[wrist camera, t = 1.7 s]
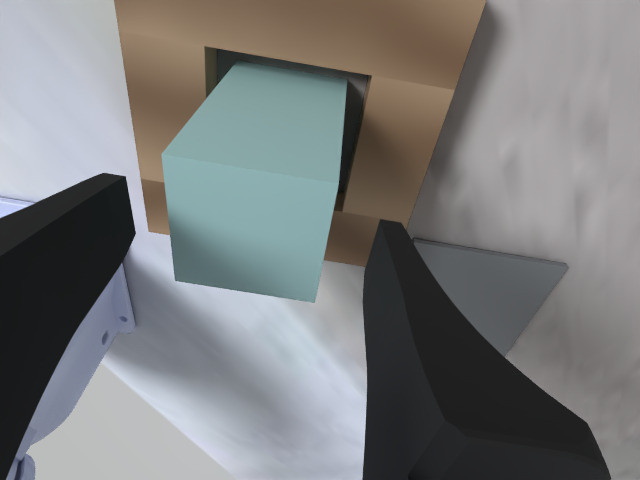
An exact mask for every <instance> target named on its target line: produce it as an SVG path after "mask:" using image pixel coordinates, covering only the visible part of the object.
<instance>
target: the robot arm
mask: <svg viewBox="0 0 640 480" xmlns="http://www.w3.org/2000/svg"><path fill="white" fill-rule="evenodd" d="M135 234H136V232H135V226H134V221H133V215H132V210H131V204H130V198H129V193H128V187H127V181H126V176H120V175H114V174H108V173H102V174H99V175H97V176H94V177H92V178H89V179H87V180H85V181H83V182H80V183H78V184H76V185H74V186H72V187H69V188H67V189H65V190H63V191H61V192H59V193H56V194H54V195H52V196H50V197H48V198H46V199H43V200H41V201H39V202H37V203H32V202H26V201H20V200H13V199H7V198H1V197H0V480H34V479H35V462H34V460H33V459H32V457H31V456H29V455H27V454H26V452H27V450H28V449H29V447H30V446H31V445H32V444H34V443H36V442H38V441H39V440H41V439H43V438H44V437H45V436H47V435H48V434H50V433H51V432H52V431H54V430H55V429H56V428H57V427H58V426H59V425H60V424H62V422H64V421H65V419H66V418H67V417H68V416H69V415H70V413H71V412H72V410H73V409H74V407H75V405H76V404H77V402H78V400H79V398H80V397H81V395H82V393H83V392H84V390H85V388H86V386H87V384H88V383H89V381H90V379H91V378H92V376H93V374H94V372H95V371H96V369H97V367H98V366H99V364H100V362H101V360H102V359H103V357H104V355H105V353H106V352H107V350H108V348H109V346H110V345H111V343H112V341H113V339H114V338H115V336H116V334H117V332H121V333H132V332H133V331H134V330H135V328H136V325H135V321H134V316H133V311H132V307H131V302H130V297H129V293H128V288H127V283H126V279H125V274H124V269H123V265H122V262H123V260H124V258H125V256H126V254H127V252H128V250H129V248H130V245H131V243H132V241H133V239H134V236H135ZM363 314H364V330H365V345H366V360H367V407H366V430H365V450H364V466H363V480H611V477H610V473H609V470H608V468H607V465H606V463H605V461H604V458H603V456H602V454H601V451H600V449H599V447H598V444H597V442H596V440H595V438H594V436H593V434H592V431H591V430H590V428H589V426H588V423H586V422H585V421H584V420H582V419H581V418H580V417H578V416H577V415H576V414H574V413H573V412H572V411H570V410H569V409H567V408H566V407H565V406H563V405H562V404H561V403H559V402H558V401H557V400H555V399H554V398H553V397H551V396H550V395H549V394H547V393H546V392H545V391H543V390H542V389H541V388H540V387H538V386H537V385H536V384H535V383H534V382H532V381H531V380H530V379H529V378H528V377H526V376H525V375H524V374H523V373H522V372H520V371H519V370H518V369H517V368H516V367H515V366H514V365H512V364H511V363H510V362H509V361H508V360H507V359H506V358H505V357H504V356H502V355H501V354H500V353H499V352H498V351H497V350H496V349H495V348H494V347H493V346H492V345H491V344H490V343H489V342H488V341H487V340H486V339H485V338H484V337H483V336H482V335H481V334H480V333H479V332H478V331H477V330H476V329H475V328H474V326H473V325H472V324H471V323H470V322H469V321H468V320H467V318H466V317H465V316H464V315H463V314H462V313H461V312H460V311H459V309H458V308H457V307H456V306H455V304H454V303H453V302H452V301H451V299H450V298H449V297H448V295H447V294H446V293H445V291H444V290H443V289H442V287H441V286H440V285H439V283H438V282H437V280H436V279H435V277H434V276H433V274H432V273H431V271H430V270H429V268H428V267H427V265H426V263H425V262H424V260H423V259H422V257H421V255H420V254H419V252H418V250H417V249H416V247H415V245H414V243H413V242H412V240H411V238H410V236H409V235H408V233H407V231H406V229H405V228H404V226H403V224H402V223H401V222H395V221H389V220H383V219H380V221H379V224H378V228H377V231H376V234H375V238H374V241H373V244H372V248H371V251H370V255H369V258H368V261H367V265H366V268H365V273H364V288H363Z"/></svg>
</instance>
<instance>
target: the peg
mask: <svg viewBox="0 0 640 480" xmlns="http://www.w3.org/2000/svg"><path fill="white" fill-rule="evenodd" d="M346 89H347V79H342V78H336V77H330V76H325V75H319V74H313V73H307V72H302V71H296V70H290V69H284V68H279V67H273V66H267V65H262V64H256V63H250V62H244V61H239V60H237V62H236V63H235V64H234V65H233V66H232V68H231V69H230V70H229V71H228V73H227V74H226V75H225V76H224V78H223V79H222V80H221V81H220V82H219V84H218V85H217V86H216V87H215V89H214V90H213V91H212V92H211V94H210V95H209V96H208V97H207V99H206V100H205V101H204V102H203V103H202V105H201V106H200V107H199V108H198V110H197V111H196V112H195V113H194V115H193V116H192V117H191V118H190V120H189V121H188V122H187V123H186V124H185V126H184V127H183V128H182V129H181V131H180V132H179V133H178V134H177V136H176V137H175V138H174V139H173V140H172V142H171V143H170V144H169V145H168V147H167V148H166V149H165V150H164V152H163V153H162V154H161V155H162V165H163V174H164V183H165V192H166V201H167V211H168V220H169V229H170V238H171V247H172V257H173V266H174V275H175V281H180V282H186V283H192V284H199V285H205V286H211V287H218V288H224V289H230V290H237V291H243V292H250V293H256V294H262V295H269V296H275V297H281V298H288V299H294V300H300V301H307V302H313V303H315V299H316V294H317V289H318V284H319V279H320V274H321V269H322V264H323V259H324V254H325V250H326V245H327V240H328V235H329V230H330V225H331V220H332V215H333V210H334V205H335V200H336V195H337V190H338V185H339V175H340V163H341V151H342V138H343V126H344V114H345V102H346Z"/></svg>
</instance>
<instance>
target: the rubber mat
mask: <svg viewBox="0 0 640 480" xmlns="http://www.w3.org/2000/svg"><path fill="white" fill-rule="evenodd" d="M413 243H414V245H415V247H416V249H417V250H418V252H419V254H420V255H421V257H422V259H423V260H424V262H425V263H426V265H427V267H428V268H429V270H430V271H431V273H432V274H433V276H434V277H435V279H436V280H437V282H438V283H439V285H440V286H441V287H442V289H443V290H444V291H445V293H446V294H447V295H448V297H449V298H450V299H451V301H452V302H453V303H454V304H455V306H456V307H457V308H458V309H459V311H460V312H461V313H462V314H463V315H464V316H465V317H466V318H467V320H468V321H469V322H470V323H471V324H472V325H473V326H474V328H475V329H476V330H477V331H478V332H479V333H480V334H481V335H482V336H483V337H484V338H485V339H486V340H487V341H488V342H489V343H490V344H491V345H492V346H493V347H494V348H495V349H496V350H497V351H498V352H499V353H500V354H501V355H502V356H505V355H506V353H507V352H508V350H509V349H510V348H511V346H512V345H513V343H514V342H515V341H516V339H517V338H518V337H519V335H520V334H521V332H522V331H523V330H524V328H525V327H526V325H527V324H528V323H529V321H530V320H531V318H532V317H533V316H534V314H535V313H536V312H537V310H538V309H539V307H540V306H541V305H542V303H543V302H544V300H545V299H546V298H547V296H548V295H549V293H550V292H551V291H552V289H553V288H554V287H555V285H556V284H557V282H558V281H559V280H560V278H561V277H562V275H563V274H564V273H565V271H566V270H567V268H568V266H567V264H566V263H560V262H554V261H548V260H541V259H535V258H529V257H523V256H517V255H511V254H505V253H499V252H493V251H487V250H481V249H475V248H468V247H462V246H456V245H450V244H444V243H438V242H432V241H426V240H420V239H413Z"/></svg>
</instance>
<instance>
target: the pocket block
mask: <svg viewBox="0 0 640 480" xmlns="http://www.w3.org/2000/svg"><path fill="white" fill-rule="evenodd" d="M114 3H115V9H116V16H117V23H118V29H119V36H120V43H121V49H122V56H123V63H124V70H125V76H126V83H127V90H128V96H129V103H130V110H131V116H132V123H133V130H134V136H135V143H136V150H137V156H138V163H139V170H140V177H141V183H142V190H143V197H144V203H145V210H146V217H147V223H148V230H149V232H154V233H160V234H166V235H170V229H169V220H168V211H167V201H166V192H165V183H164V174H163V165H162V155H161V154H162V153H163V152H164V150H165V149H166V148H167V147H168V145H169V144H170V143H171V142H172V140H173V139H174V138H175V137H176V136H177V134H178V133H179V132H180V131H181V129H182V128H183V127H184V126H185V124H186V123H187V122H188V121H189V120H190V118H191V117H192V116H193V115H194V113H195V112H196V111H197V110H198V108H199V107H200V106H201V105H202V103H203V102H204V101H205V100H206V99H207V97H208V96H209V95H210V94H211V92H212V91H213V90H214V89H215V87H216V86H217V48H218V49H224V50H229V51H235V52H241V53H246V54H252V55H258V56H263V57H269V58H275V59H281V60H286V61H292V62H298V63H303V64H309V65H315V66H320V67H326V68H332V69H337V70H343V71H349V72H354V73H360V74H366V75H369V77H368V81H367V86H366V91H365V95H364V100H363V105H362V109H361V114H360V119H359V123H358V128H357V133H356V137H355V142H354V147H353V151H352V156H351V161H350V165H349V170H348V175H347V179H346V184H345V189H344V193H342V192H337V195H336V200H335V205H334V210H333V215H332V220H331V225H330V230H329V235H328V240H327V245H326V250H325V254H324V259H323V260H327V261H333V262H339V263H345V264H352V265H358V266H364V267H366V265H367V261H368V258H369V255H370V251H371V248H372V244H373V241H374V238H375V234H376V231H377V228H378V224H379V221H380V219H383V220H389V221H395V222H401V223H402V224H403V226H404V228H405V229H406V228H407V225H408V222H409V219H410V217H411V214H412V211H413V208H414V205H415V202H416V199H417V197H418V194H419V191H420V188H421V185H422V182H423V180H424V177H425V174H426V171H427V168H428V165H429V162H430V160H431V157H432V154H433V151H434V148H435V145H436V143H437V140H438V137H439V134H440V131H441V128H442V125H443V123H444V120H445V117H446V114H447V111H448V108H449V106H450V103H451V100H452V97H453V94H454V91H455V88H456V86H457V83H458V80H459V77H460V74H461V71H462V68H463V66H464V63H465V60H466V57H467V54H468V51H469V49H470V46H471V43H472V40H473V37H474V34H475V31H476V29H477V26H478V23H479V20H480V17H481V14H482V12H483V9H484V6H485V3H486V0H114Z"/></svg>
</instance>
